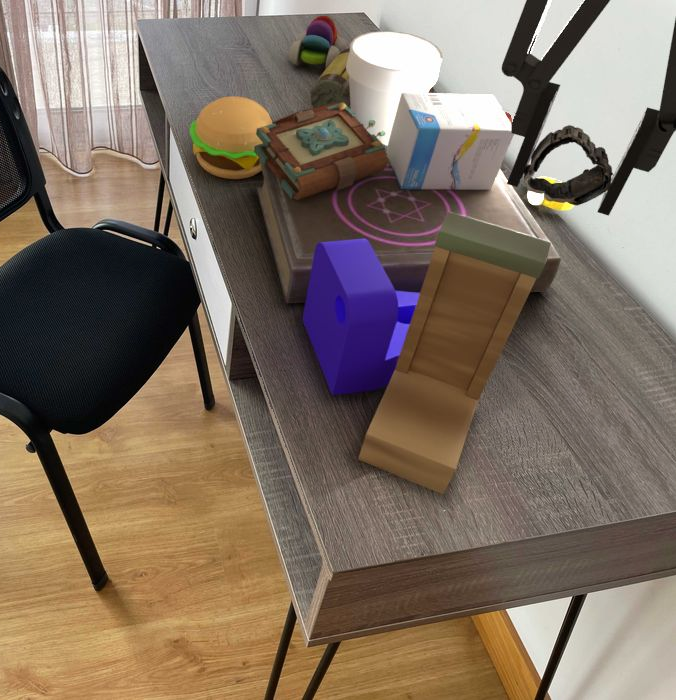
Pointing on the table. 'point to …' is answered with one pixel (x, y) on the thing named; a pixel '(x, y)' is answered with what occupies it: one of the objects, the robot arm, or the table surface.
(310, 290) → the bracket
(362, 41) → the cup
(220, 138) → the hamburger
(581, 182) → the wristwatch
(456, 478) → the table surface
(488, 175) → the ink box
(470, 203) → the book
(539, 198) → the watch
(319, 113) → the decorative book
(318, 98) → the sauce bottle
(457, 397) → the two-tone angled block
